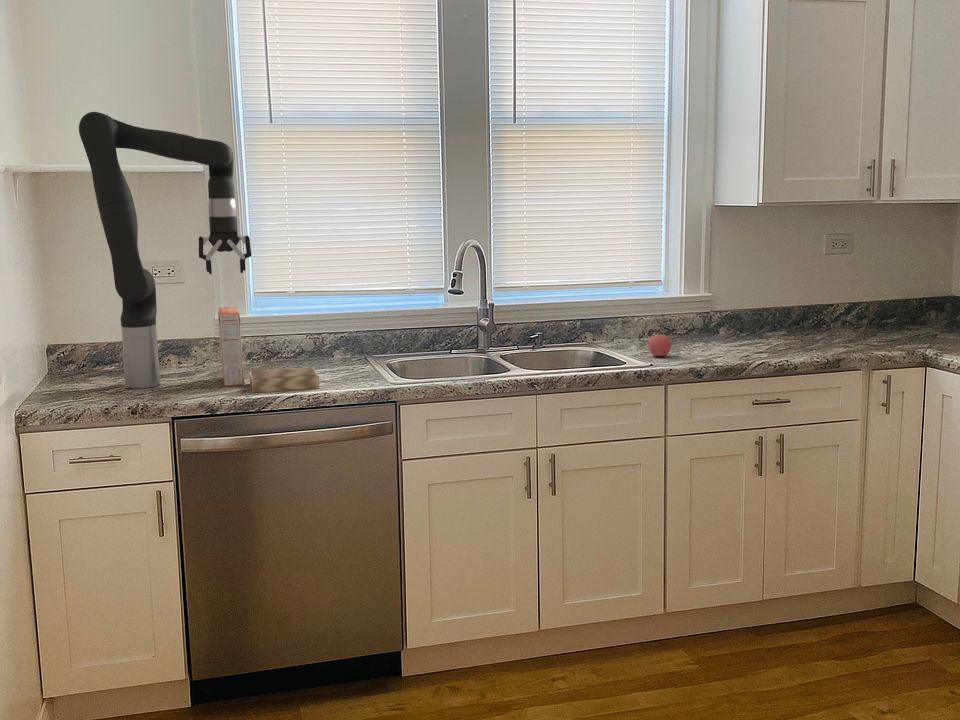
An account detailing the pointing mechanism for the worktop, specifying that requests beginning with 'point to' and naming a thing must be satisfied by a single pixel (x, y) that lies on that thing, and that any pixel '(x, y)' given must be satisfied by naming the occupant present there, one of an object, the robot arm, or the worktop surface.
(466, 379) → the worktop surface
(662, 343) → the apple
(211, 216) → the robot arm
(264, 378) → the podium
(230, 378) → the cracker box
